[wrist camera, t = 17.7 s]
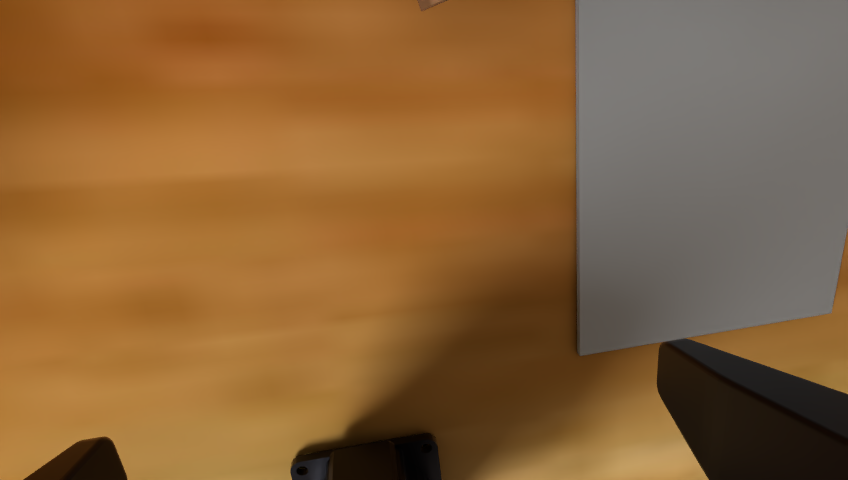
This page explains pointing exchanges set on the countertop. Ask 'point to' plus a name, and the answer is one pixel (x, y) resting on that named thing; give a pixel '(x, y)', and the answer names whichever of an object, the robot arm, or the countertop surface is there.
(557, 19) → the countertop surface
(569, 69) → the countertop surface
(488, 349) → the countertop surface
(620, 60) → the lane mat
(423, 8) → the walnut block
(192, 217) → the countertop surface
